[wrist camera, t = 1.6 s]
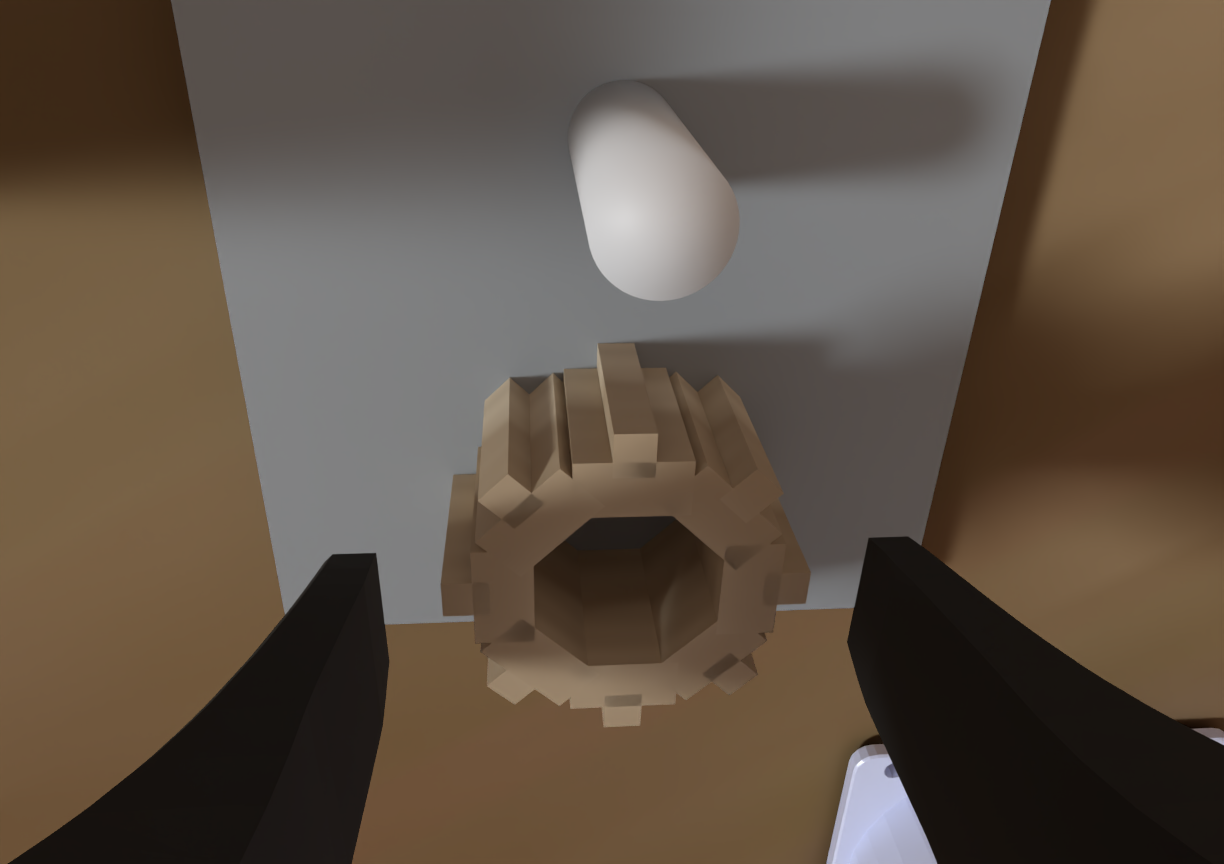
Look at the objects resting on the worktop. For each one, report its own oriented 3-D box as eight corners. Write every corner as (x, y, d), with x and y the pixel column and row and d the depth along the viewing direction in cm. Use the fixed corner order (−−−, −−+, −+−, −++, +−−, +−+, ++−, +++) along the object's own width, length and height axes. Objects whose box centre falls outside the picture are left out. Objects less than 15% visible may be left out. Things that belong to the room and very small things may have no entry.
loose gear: (781, 341, 15) (834, 430, 13) (747, 601, 18) (786, 718, 15) (445, 345, 15) (429, 438, 12) (462, 611, 18) (452, 734, 15)
